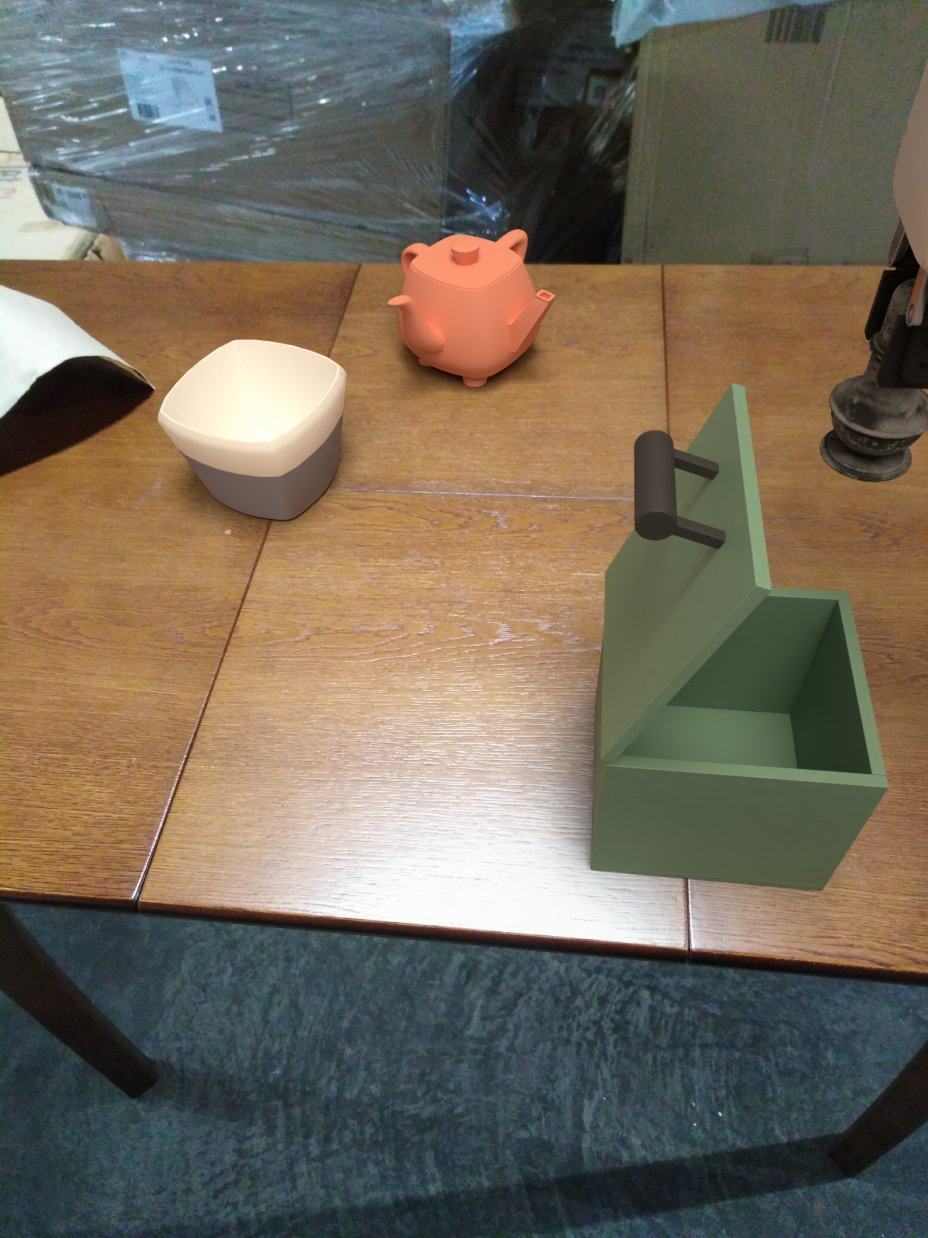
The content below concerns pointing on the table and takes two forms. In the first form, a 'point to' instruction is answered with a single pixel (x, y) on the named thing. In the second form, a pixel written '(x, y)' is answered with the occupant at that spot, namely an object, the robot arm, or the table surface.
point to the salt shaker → (875, 414)
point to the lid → (681, 567)
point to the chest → (750, 757)
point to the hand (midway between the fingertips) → (900, 358)
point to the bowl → (260, 425)
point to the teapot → (469, 304)
